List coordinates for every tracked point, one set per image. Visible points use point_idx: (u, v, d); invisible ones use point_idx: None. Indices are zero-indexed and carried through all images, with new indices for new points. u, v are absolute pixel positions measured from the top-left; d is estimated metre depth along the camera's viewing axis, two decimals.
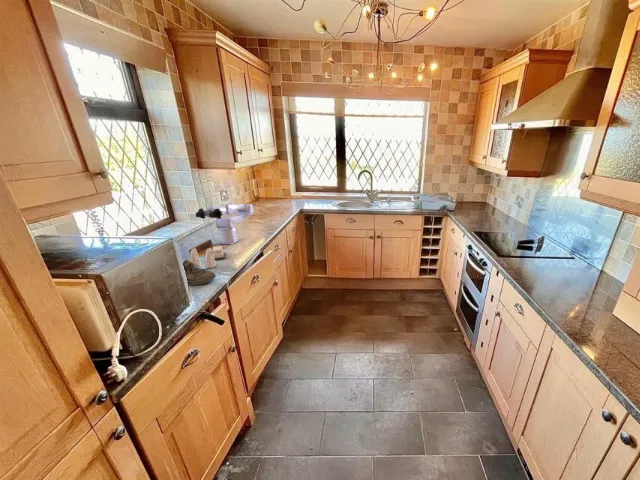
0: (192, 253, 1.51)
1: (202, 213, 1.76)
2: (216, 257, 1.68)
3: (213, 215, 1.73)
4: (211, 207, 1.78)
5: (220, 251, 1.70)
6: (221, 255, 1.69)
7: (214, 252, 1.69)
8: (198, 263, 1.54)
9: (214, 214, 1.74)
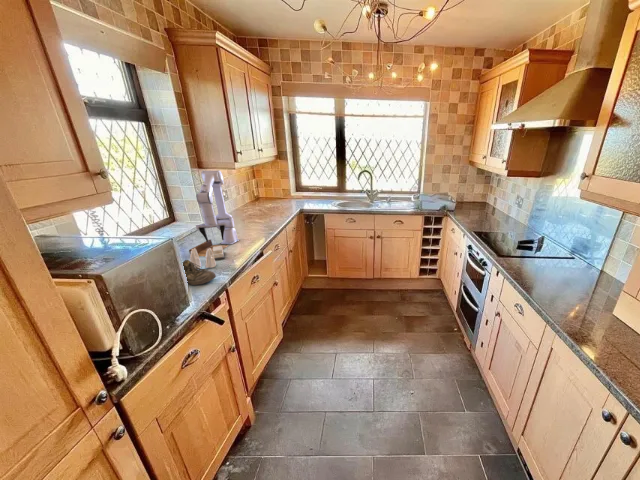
0: (192, 253, 1.51)
1: (205, 231, 1.66)
2: (216, 257, 1.68)
3: (222, 234, 1.71)
4: None
5: (220, 251, 1.70)
6: (221, 255, 1.69)
7: (214, 252, 1.69)
8: (198, 263, 1.54)
9: None
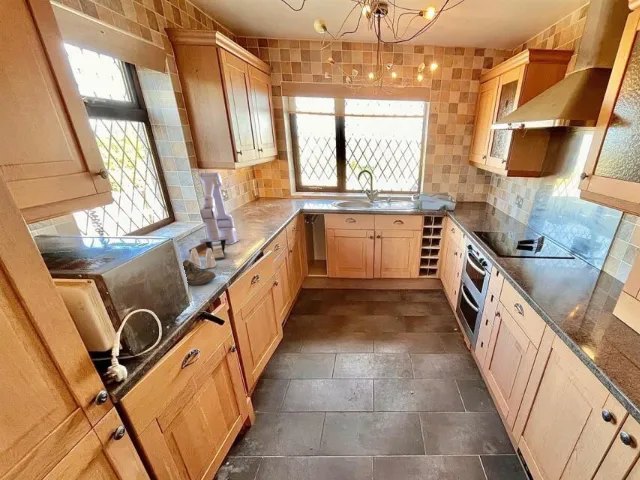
0: (192, 253, 1.51)
1: (211, 245, 1.70)
2: (216, 257, 1.68)
3: (223, 248, 1.74)
4: (215, 240, 1.67)
5: (220, 251, 1.70)
6: (221, 255, 1.69)
7: (214, 252, 1.69)
8: (198, 263, 1.54)
9: None
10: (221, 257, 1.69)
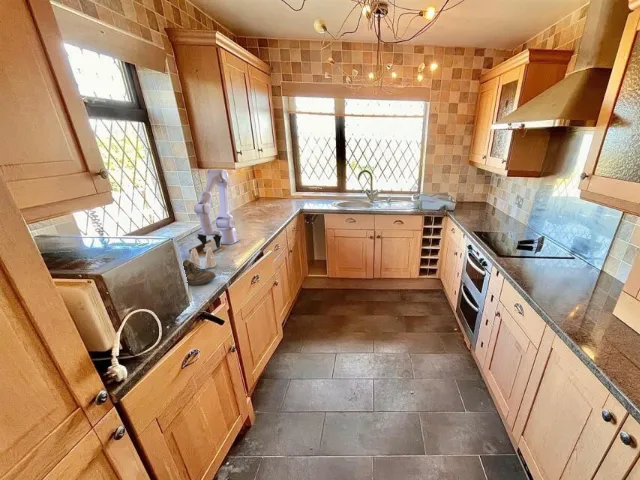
0: (192, 253, 1.51)
1: (203, 238, 1.80)
2: (205, 251, 1.78)
3: (218, 242, 1.81)
4: (206, 234, 1.76)
5: (210, 246, 1.79)
6: None
7: (205, 246, 1.79)
8: (198, 263, 1.54)
9: (217, 241, 1.81)
10: None
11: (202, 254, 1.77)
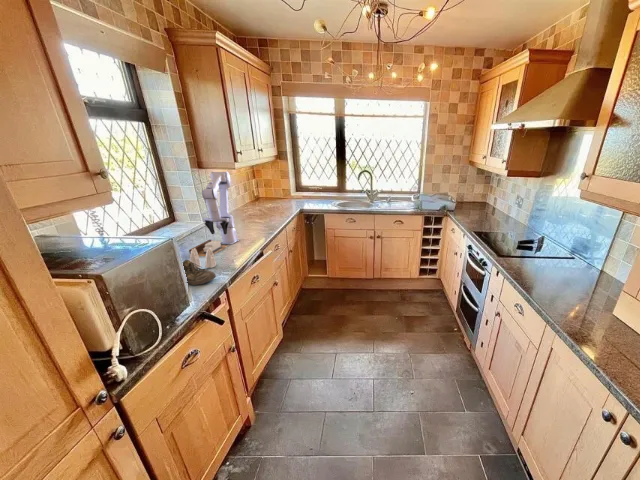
0: (192, 253, 1.51)
1: (210, 224, 1.79)
2: (205, 251, 1.78)
3: (225, 229, 1.81)
4: (213, 220, 1.75)
5: (210, 246, 1.79)
6: None
7: (205, 246, 1.79)
8: (198, 263, 1.54)
9: (225, 227, 1.80)
10: None
11: (202, 254, 1.77)
